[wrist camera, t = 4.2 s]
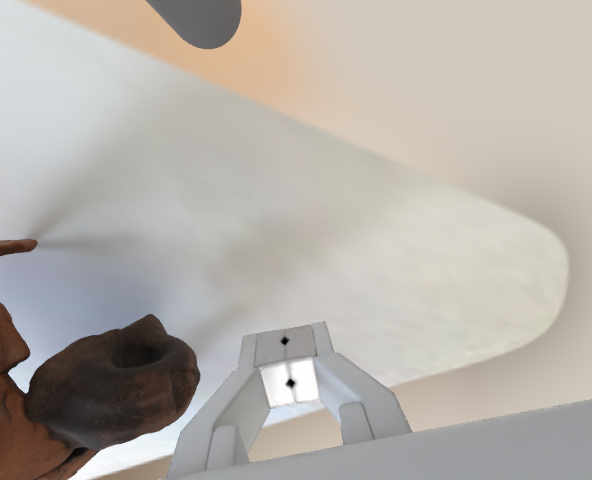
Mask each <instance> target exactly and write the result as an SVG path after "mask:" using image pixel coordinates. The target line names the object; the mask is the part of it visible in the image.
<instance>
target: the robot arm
mask: <svg viewBox="0 0 592 480" xmlns="http://www.w3.org/2000/svg"><path fill="white" fill-rule="evenodd" d="M316 400H321V402H322V403H323V404H324V406H325V407H326V408H327V409H328V410H329V411H330V413H331V414H332V415H333V416H334V417H335V418H336V420H337V421H338V422H339V423H340V425H341V433H342V440H343V446H337V447H332V448H327V449H321V450H316V451H310V452H306V453H300V454H295V455H289V456H284V457H278V458H273V459H267V460H262V461H257V462H252V463H250V461H249V458H248V453H249V451H250V449H251V447H252V445H253V443H254V441H255V439H256V437H257V435H258V434H259V432H260V430H261V428H262V426H263V424H264V422H265V420H266V418H267V416H268V414H269V412H270V409H273V408H277V407H282V406H287V405H291V404H296V403H303V402H310V401H316ZM160 480H592V399H590V400H585V401H580V402H574V403H569V404H564V405H558V406H553V407H547V408H542V409H537V410H531V411H526V412H520V413H515V414H510V415H505V416H499V417H494V418H488V419H483V420H477V421H472V422H467V423H461V424H456V425H450V426H445V427H439V428H434V429H429V430H424V431H418V432H412V430H411V428H410V426H409V424H408V421H407V419H406V417H405V415H404V413H403V411H402V409H401V407H400V404H399V402H398V400H397V398H396V396H395V394H394V393H393V392H392V391H390V390H389V389H388V388H386V387H385V386H384V385H382V384H381V383H379V382H378V381H377V380H375V379H374V378H373V377H371V376H370V375H368V374H367V373H366V372H364V371H363V370H362V369H360V368H359V367H358V366H356V365H355V364H353V363H352V362H351V361H349V360H348V359H347V358H345V357H344V356H342V355H341V354H340V353H334V350H333V346H332V343H331V339H330V336H329V332H328V329H327V325H326V322H325V321H323V322H318V323H313V324H311V325H305V326H300V327H294V328H289V329H282V330H276V331H269V332H263V333H258V334H251V335H245V336H244V337H243V338H242V344H241V351H240V357H239V363H238V370H237V371H234V372H232V374H231V375H230V376H229V377H228V378H227V379H226V380H225V382H224V383H223V384H222V385H221V386H220V387H219V389H218V390H217V391H216V392H215V393H214V394H213V395H212V397H211V398H210V399H209V400H208V401H207V402H206V403H205V405H204V406H203V407H202V408H201V409H200V410H199V411H198V413H197V414H196V415H195V416H194V417H193V418H192V419H191V421H190V422H189V423H188V424H187V425H186V426H185V427H184V429H183V430H182V431H181V432H180V435H179V439H178V442H177V445H176V448H175V451H174V454H173V457H172V460H171V464H170V467H169V470H168V473H167V476H166V478H165V479H160Z"/></svg>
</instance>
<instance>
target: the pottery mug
mask: <svg viewBox="0 0 592 480" xmlns="http://www.w3.org/2000/svg"><path fill="white" fill-rule="evenodd" d="M37 244H38V242H37V241H36V240H30V239H23V240H3V241H0V256H3V255H7V254H13V253H23V252H30V251H32V250H33V249H35V248H36V246H37ZM29 356H30V350H29V348H28V346H27V344H26V342H25V341H24V340H23V339H22V337H21V336H20V334H19V333H18V331H17V330H16V328H15V326H14V324H13V323H12V317H11V315H10V314H9V312H8V311H7V309H6V308H5V306H4V305H3V304H2V303H0V480H68V479H69V478H71V477H72V476H74V475H75V474H76V473H77V471H78V470H79V469H81V468H82V467H83V466H84V465H85V464H86V463H87V462H88V461H89V460H90V459H91V458H92V457H94V456H95V455H96V454H97V453H98V452H99V451H100V450H102V449H105V448H107V447H110V446H113V445H116V444H122V443H125V442H128V441H131V440H133V439H135V438H137V437H139V436H141V435H144V434H147V433H154V432H157V431H160V430H162V429H163V428H165V427H166V426H169V425H170V424H172V423H173V422H175V421H176V420H177V419H179V418H180V417H181V416H182V415H183V414H184V412H185V411H186V410H187V408H188V406H189V404H190V402H191V400H192V397H193V396H194V394H195V391H196V387H197V385H198V384H199V381H200V372H199V369H198V367H197V359H196V355H195V353H194V351H193V350H192V349H191V348H190V347H189V346H188V345H187V344H186V343H185V342H183V341H182V340H180V339H178V338H176V337H173V336H170V335H168V334H167V332H166V331H165V329H164V327H163V325H162V323H161V322H160V321H159V320H158V319H157V318H156V317H155V316H154V315H153V314H148V315H147V316H145V317H144V318H142V319H140V320H138V321H136V322H134V323H132V324H131V325H129V326H127V327H125V328H123V329H114V330H110V331H107V332H105V333H103V334H101V335H91V336H88V337H84V338H81V339H79V340H77V341H75V342H73V343H72V344H70V345H69V346H68V347H66V348H65V349H64V350H63V351H61V352H59V353H57V354H56V355H54V356H52V357H51V358H49V359H48V360H47V361H46V362H44V363H43V364H42V365H41V366H40V367H39V368H38V369H37V370H36V371H35V373H34V375H33V376H32V378H31V380H30V383H29V384H30V386H29V391H28V393H24V392H23V391H22V390H20V389H19V388H18V386H17V385H16V383H15V382H14V381H13V379H12V378H11V377H10V376H9V375H8V372H9V371H10V370H11V369H12V368H14V367H16V366H17V365H18V364H19V363H20V362H23V361H24V360H26V359H27V358H28V357H29Z"/></svg>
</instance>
